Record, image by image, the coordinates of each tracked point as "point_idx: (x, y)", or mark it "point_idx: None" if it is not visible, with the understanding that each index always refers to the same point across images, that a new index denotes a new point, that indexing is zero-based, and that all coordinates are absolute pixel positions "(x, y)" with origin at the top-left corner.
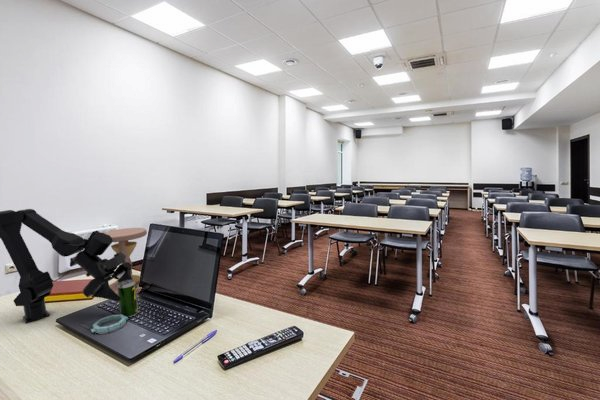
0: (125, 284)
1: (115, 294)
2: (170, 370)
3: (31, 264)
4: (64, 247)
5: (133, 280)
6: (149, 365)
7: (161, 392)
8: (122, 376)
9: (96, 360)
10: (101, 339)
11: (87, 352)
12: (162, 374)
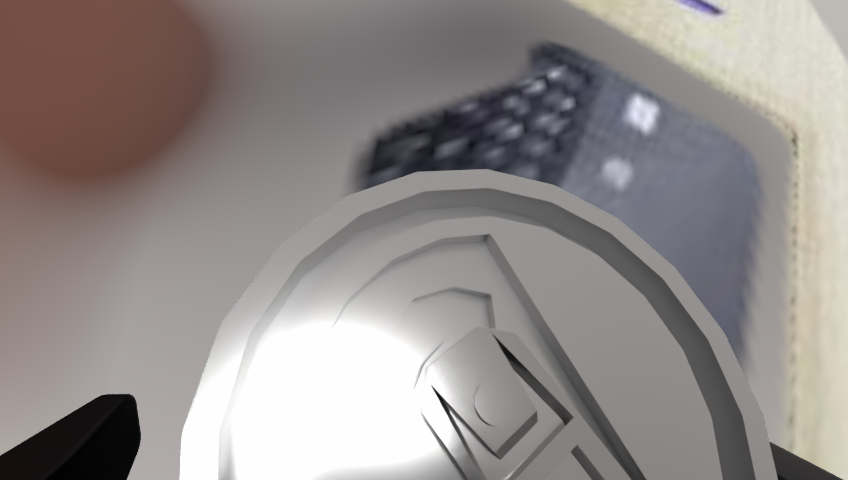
0: (687, 296)
1: (786, 456)
2: (750, 15)
3: None
4: None
5: (348, 214)
6: (761, 72)
7: (815, 18)
8: (834, 131)
9: (840, 287)
10: None
11: (834, 394)
12: (771, 30)
